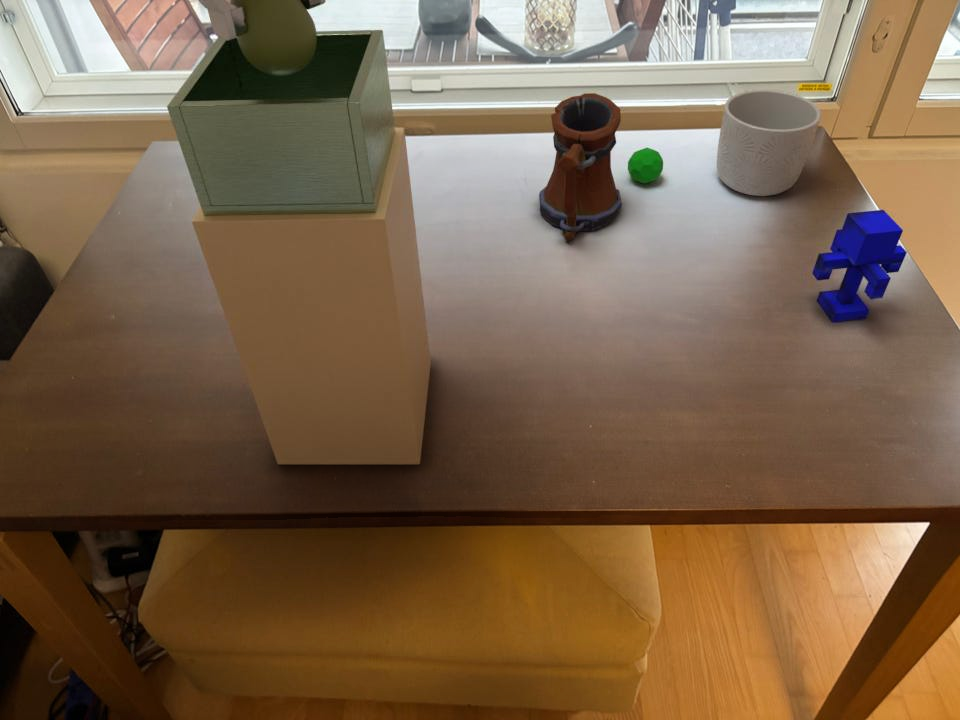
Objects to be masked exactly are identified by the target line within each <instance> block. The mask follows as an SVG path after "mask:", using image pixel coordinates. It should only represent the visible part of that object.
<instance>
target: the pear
mask: <svg viewBox="0 0 960 720" xmlns="http://www.w3.org/2000/svg"><path fill="white" fill-rule="evenodd" d="M229 1H230V2H229V3H232V5H239V6H242V7H243V11H244V15H245V19H244V22H245V23H246V24H247V28H248V31H247V33H246V34H243V35H241V36H238V37H237V40H238V43H239V46H240V48H241V50H242V52H243V54H244V56H245V57H246V59H247V60H248V61H249V62H250V63H251V64H252V65H253V66H254V67H255V68H257V69H258V70H260V71H262V72H264V73H267V74H270V75H276V76H285V75H290V74H294V73H296V72H298V71H300V70H302V69H303V68H304V67H306V66H307V65H308V64H309V62H310V61H311V59H312V58H313V56H314V53H315V50H316V44H317V34H316V31H317V29H316V24H315V21H314V20H313V17H312V16H311V14H310V12H309V10H307V9H306V8H305V7H304V5H303V3H302V2H301V0H229Z"/></svg>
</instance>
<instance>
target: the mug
mask: <svg viewBox="0 0 960 720" xmlns="http://www.w3.org/2000/svg"><path fill="white" fill-rule="evenodd" d="M554 111H555V112H554V113H552V114H550V118H551V125H552V129H553V132H554V133H553V136H552V139H553V140H552V141H553V147H554V150H555V151H556V153H555V159H554V164H553V169H552V173H551V175H550V176H549V179H548V181H547V184H546V186H545V187H543V188H542V189H541V190H540V191H539V194H538V200H539V210H540V211H539V212H540V215H541V217H543V218H544V219H545V220H546V221H547V222H548V223H550V225H552V226H554V227H558V228H561V229H563V230H564V231H565V233H564V240H565V241H567V242H571V241H572V240H573V239H574V237H575V235H576V234H577V232H578V231H581V232H582V231H583V232H584V231H596V230H598V229H600V228H602V227H605V226H607V225H609V224H610V223H612V222H613V220H614V219H615V217H616V216H617V214H618V213H619V212H620V211H621V209H622V206H623V203H622V197H621V194H620V193H621V192H620V190H619V189H618V188H617V186H616V183H615V180H614V179H615V178H614V175H613V171H612V166H611V165H612V164H611V163H612V162H611V161H612V156H611V155H612V154H611V153H612V151H613V149H614V147H615V146H616V144H617V139H616V133H617V130H618V128H619V127H620V124H621V121H622V118H621V108H620V107H619V106H618V105H617V104H615V102H614V101H612V100H611V99H610V98H608V97H606V96H604V95H601V94H598V93H595V92H594V93H593V92H591V93H587V92H586V93H583V94H581V95H574V96H571V97H568V98H566V99H564V100H561V101H560V102H559V103H558V104H557V106H555V108H554Z"/></svg>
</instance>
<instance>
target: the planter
mask: <svg viewBox="0 0 960 720" xmlns="http://www.w3.org/2000/svg"><path fill="white" fill-rule="evenodd" d="M821 117H822V113H821V110H820V108H819V107H818V106H817V105H816V104H815V103H813V102H812V101H811V100H809V99H807V98H805V97H803V96H801V95H798V94H794V93H791V92H786V91H782V90H776V89H775V90H774V89H754V90H747V91H742V92H739V93H737V94H736V93H735V94H734V95H732V96H731V97H729V98H728V99H727V100H726V101H725V103H724V107H723V113H722V119H721V125H720V129H719V130H720V131H719V136H718V143H717V152H716V171H717V175H718V177H719V178H720V180H721V181H722V183H724V185H726V186H727V187H729V188H730V189H732V190H734V191H736V192H739V193H740V194H744V195H749V196H756V197H767V196H773V195H778V194H781V193H784V192H785V191H787V190H789V189H790V188H792V187H793V186H794V185H795V183H796V182H797V181H798V180H799V178H800V175H802V174H801V173H802V171H803V169H804V166H805V164H806V161H807V159H808V157H809V153H810V151H811V148H812V146H813V145H812V144H813V143H814V139H815V136H816V132H817V130H818V127H819V124H820V122H821Z"/></svg>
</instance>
